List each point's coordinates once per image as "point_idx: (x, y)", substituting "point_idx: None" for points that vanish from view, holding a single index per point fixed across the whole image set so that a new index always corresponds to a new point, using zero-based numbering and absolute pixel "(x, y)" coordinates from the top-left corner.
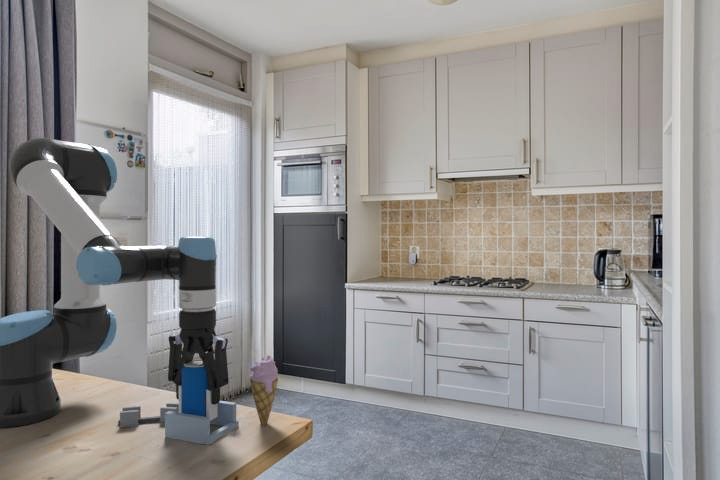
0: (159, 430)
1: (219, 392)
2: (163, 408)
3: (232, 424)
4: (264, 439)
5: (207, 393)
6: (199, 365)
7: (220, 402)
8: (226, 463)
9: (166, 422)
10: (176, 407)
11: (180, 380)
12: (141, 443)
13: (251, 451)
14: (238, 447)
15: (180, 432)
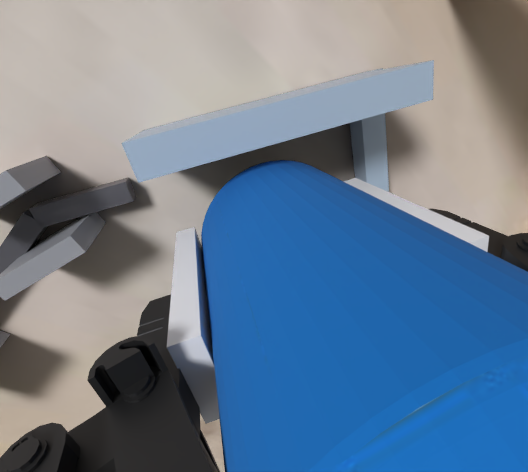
0: (135, 299)
1: (492, 236)
2: (22, 289)
3: (384, 121)
4: (516, 113)
5: None
6: (327, 440)
7: (342, 119)
8: None
9: None
10: (67, 240)
11: (213, 459)
12: None
13: (511, 202)
14: (467, 208)
15: None
